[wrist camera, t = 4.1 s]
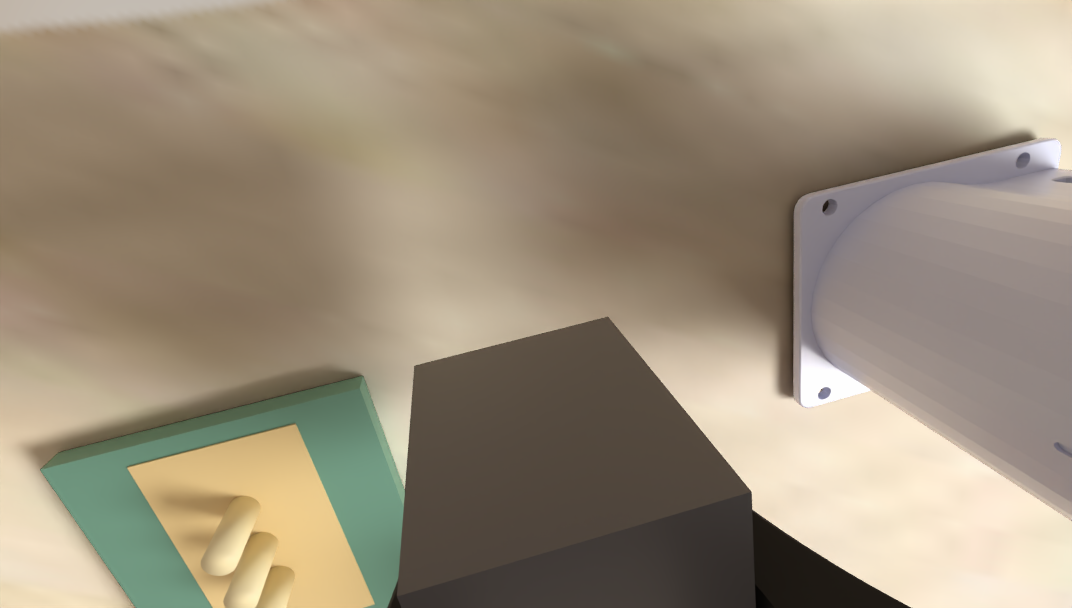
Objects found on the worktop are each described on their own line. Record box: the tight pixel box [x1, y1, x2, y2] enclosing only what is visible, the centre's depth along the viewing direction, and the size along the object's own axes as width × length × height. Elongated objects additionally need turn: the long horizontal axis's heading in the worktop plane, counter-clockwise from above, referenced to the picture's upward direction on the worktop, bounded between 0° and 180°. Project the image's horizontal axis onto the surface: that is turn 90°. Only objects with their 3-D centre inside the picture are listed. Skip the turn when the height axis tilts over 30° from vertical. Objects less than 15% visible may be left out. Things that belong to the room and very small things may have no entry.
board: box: [40, 376, 405, 608], centre depth 16 cm, size 9×9×3 cm
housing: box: [397, 317, 756, 608], centre depth 9 cm, size 4×7×5 cm, turn 11°
